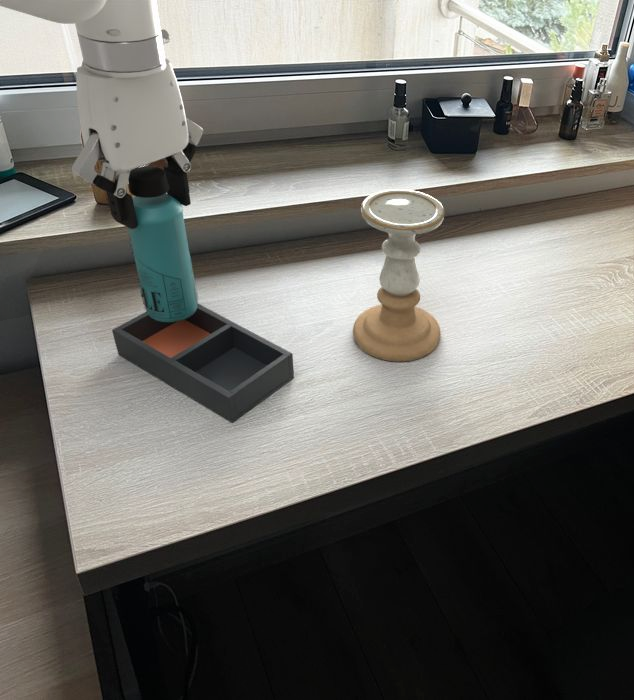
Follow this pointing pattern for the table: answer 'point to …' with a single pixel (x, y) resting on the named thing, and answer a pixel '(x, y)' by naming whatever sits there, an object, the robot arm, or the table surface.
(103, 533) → the table surface
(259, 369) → the two compartment tray
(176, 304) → the beverage bottle
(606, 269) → the table surface
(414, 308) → the candle holder
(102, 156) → the robot arm
